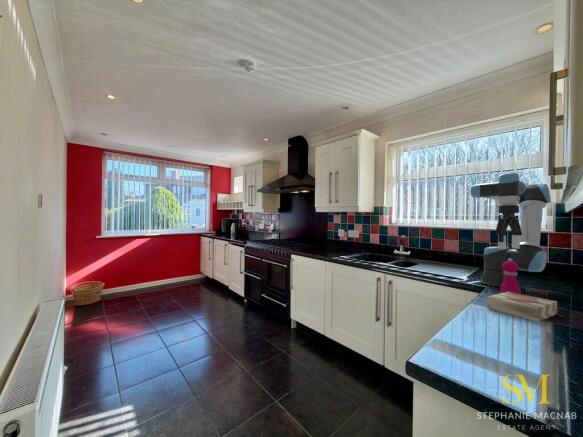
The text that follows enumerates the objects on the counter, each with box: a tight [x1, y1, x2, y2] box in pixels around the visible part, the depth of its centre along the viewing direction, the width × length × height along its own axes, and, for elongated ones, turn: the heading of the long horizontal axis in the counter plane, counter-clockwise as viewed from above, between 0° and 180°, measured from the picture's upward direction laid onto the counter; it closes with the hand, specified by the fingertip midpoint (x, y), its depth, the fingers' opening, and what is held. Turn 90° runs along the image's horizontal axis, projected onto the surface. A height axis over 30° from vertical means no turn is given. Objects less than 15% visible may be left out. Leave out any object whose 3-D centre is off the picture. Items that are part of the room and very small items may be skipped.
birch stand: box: [486, 292, 558, 322], centre depth 101 cm, size 18×16×5 cm
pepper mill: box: [500, 258, 522, 294], centre depth 117 cm, size 7×7×20 cm
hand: (509, 248), depth 117 cm, fingers open, 13 cm apart
